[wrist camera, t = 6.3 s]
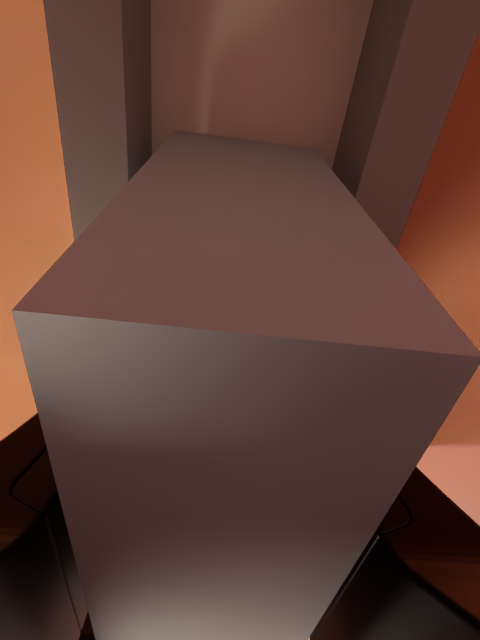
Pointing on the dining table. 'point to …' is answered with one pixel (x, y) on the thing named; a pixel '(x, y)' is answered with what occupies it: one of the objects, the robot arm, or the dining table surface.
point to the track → (258, 87)
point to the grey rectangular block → (232, 390)
